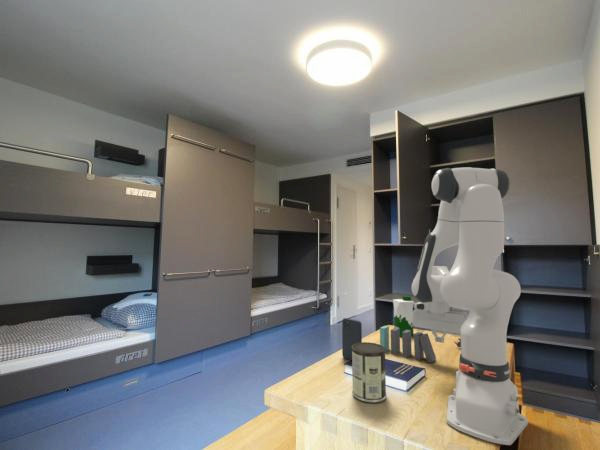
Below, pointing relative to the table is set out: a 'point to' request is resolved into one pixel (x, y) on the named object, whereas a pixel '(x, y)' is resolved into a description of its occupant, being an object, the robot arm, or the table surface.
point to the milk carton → (403, 314)
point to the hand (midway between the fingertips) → (439, 341)
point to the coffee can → (368, 372)
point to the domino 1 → (384, 337)
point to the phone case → (350, 336)
